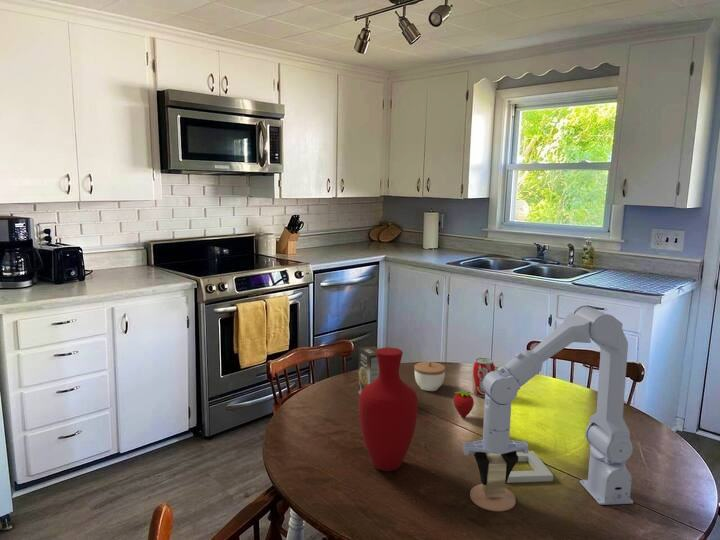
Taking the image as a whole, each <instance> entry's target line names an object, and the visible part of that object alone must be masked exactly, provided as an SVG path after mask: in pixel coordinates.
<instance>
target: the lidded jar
mask: <svg viewBox="0 0 720 540" xmlns="http://www.w3.org/2000/svg"><path fill="white" fill-rule="evenodd" d="M413 368H414V379H415V383H416V384H417V386H418V387H420V389H421V390H422V391H427V392H435V391H437V390H439V388H440V387H441V386H442V385H443V383H444V380H445V375H446V374H445V373H446V366H445V365H444V364H441V363H439V362H434V361H423V362H417V363H415V365H414V366H413Z"/></svg>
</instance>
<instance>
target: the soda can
mask: <svg viewBox="0 0 720 540" xmlns="http://www.w3.org/2000/svg"><path fill="white" fill-rule="evenodd" d="M491 371H496V370H495V364H494V360H492V359H490V358H487V357H478V358H476V359H475V362H474V364H473V369H472V393H473V394H474V395H475V396H477V397H480V398H485V394H486V393H485V391H484V390H483V389H482V386H481V382H482V381H483V380H484V377H485V376H486V375H487V374H488V373H489V372H491Z"/></svg>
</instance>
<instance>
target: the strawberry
mask: <svg viewBox="0 0 720 540" xmlns="http://www.w3.org/2000/svg"><path fill="white" fill-rule="evenodd" d="M471 393H472V392H471V391H465V389H462V390H461V391H455V392H454V394H455V395H454V396H453V399H452V400H453V401H452V402H453V404H454V408H455V409H456V411H457V412H458V414H459V415H460V417H461V419H465V418H466V417H467V416H468V415H469V414H470V413H471V411H472V410H473V408H474V405H475V403H474V398H473V397H472V394H471Z"/></svg>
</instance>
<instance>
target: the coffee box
mask: <svg viewBox="0 0 720 540" xmlns="http://www.w3.org/2000/svg"><path fill="white" fill-rule="evenodd" d="M378 349H379V348H378V347H376V346H375V345H374V346H365V347H364V346H363V347H358V369H357V371H358V372H357V373H358V374H357V375H358V376H357V377H358V378H357V379H358V380H357V381H358V385H357V386H358V388H357V389H358V391H357V394H358V393H359V394H358V395H360V393H361V391H362V390H363V388H364V387H365V386H367V385H368V384H370V383H372V382H374V381H375V380H376V379H377V377H378V375H379V365H378V360H377V354H376V351H377V350H378Z"/></svg>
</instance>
